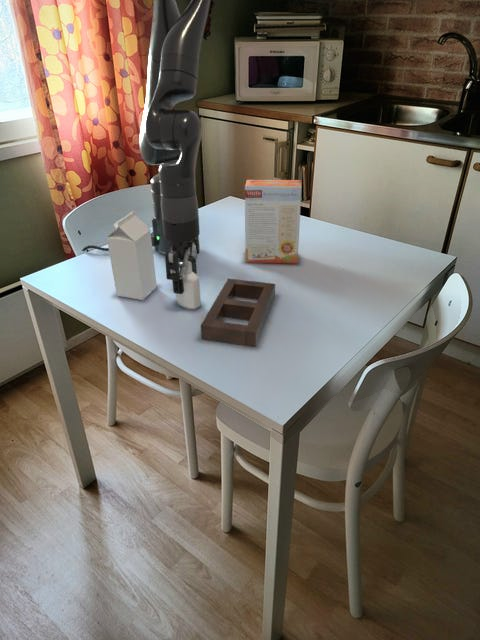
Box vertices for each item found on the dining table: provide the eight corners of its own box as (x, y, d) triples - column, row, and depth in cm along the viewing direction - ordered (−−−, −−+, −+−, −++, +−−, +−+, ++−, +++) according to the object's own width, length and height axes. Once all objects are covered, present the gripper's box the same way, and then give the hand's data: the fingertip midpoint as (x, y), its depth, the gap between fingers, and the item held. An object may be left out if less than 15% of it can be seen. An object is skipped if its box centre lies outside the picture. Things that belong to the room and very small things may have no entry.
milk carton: (157, 287, 118) (148, 212, 107) (143, 301, 112) (132, 223, 102) (131, 282, 120) (120, 209, 109) (116, 296, 114) (103, 220, 104)
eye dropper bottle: (184, 312, 107) (180, 264, 101) (175, 301, 112) (171, 254, 105) (202, 308, 109) (199, 260, 103) (193, 297, 113) (189, 250, 107)
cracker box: (297, 255, 132) (302, 179, 121) (297, 264, 127) (302, 186, 116) (246, 253, 133) (246, 177, 122) (244, 263, 128) (244, 185, 117)
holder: (201, 339, 99) (200, 325, 97) (228, 291, 116) (227, 278, 114) (255, 347, 96) (255, 332, 94) (274, 296, 113) (275, 283, 111)
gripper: (175, 201, 105) (181, 267, 114) (149, 225, 94) (157, 297, 102) (208, 204, 103) (211, 271, 112) (185, 229, 92) (190, 301, 101)
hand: (185, 283), depth 107 cm, fingers open, 8 cm apart
